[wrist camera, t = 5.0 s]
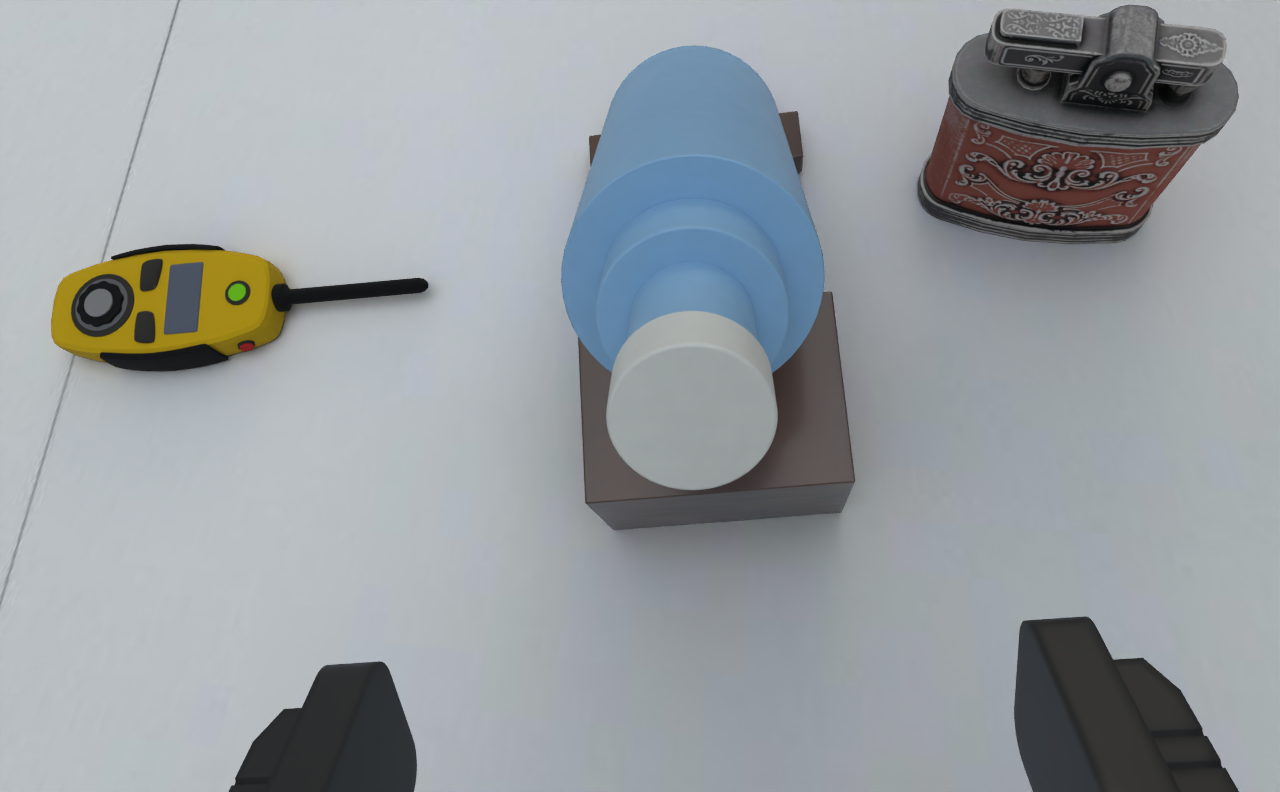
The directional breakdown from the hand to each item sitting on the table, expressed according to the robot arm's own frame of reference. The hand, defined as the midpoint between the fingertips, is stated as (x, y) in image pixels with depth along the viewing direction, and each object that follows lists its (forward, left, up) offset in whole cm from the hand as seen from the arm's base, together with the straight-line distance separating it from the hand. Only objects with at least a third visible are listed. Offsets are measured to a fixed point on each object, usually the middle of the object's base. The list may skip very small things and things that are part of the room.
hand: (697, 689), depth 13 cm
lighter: (-12, -16, -22) cm, 30 cm away
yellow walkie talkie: (+18, -15, -22) cm, 32 cm away
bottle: (0, -13, -21) cm, 25 cm away
